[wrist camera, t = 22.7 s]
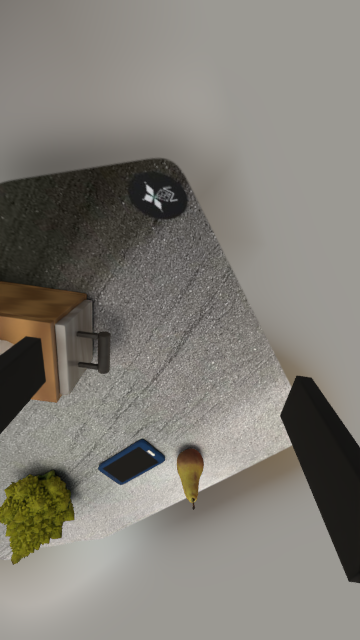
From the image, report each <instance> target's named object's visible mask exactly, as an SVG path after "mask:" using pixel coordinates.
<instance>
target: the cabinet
mask: <svg viewBox="0 0 360 640" xmlns="http://www.w3.org/2000/svg"><path fill="white" fill-rule="evenodd" d="M83 300H87V294H85V293H78V292H71V291H65V290H58V289H51V288H44V287H37V286H30V285H24V284H17V283H10V282H3V281H0V340H4V341H8V342H10V343H12V344H14V345H15V344H16V343H17V342H19V341H20V340H21V339H23V338H24V337H25V336H29V337H36V338H41V343H42V351H43V360H44V368H45V376H46V382H45V383H44V385H43V386H42V387H41V388H40V389H39V390H38V391H37V393H36V394H35V395H34V396H33V397H32V398H31V399H33V400H40V401H48V402H55V403H57V402H58V400H59V399H60V397H61V396H62V394H60V384H59V377H58V368H57V355H56V342H55V330H54V327H55V324H56V323H57V322H58V321H60V320H61V319H62V318H63V317H64V316H66V315H67V314H68V313H69V312H70V311H71V310H73V309H74V308H75V307H76V306H77V305H79V304H80V303H81V302H82V301H83Z"/></svg>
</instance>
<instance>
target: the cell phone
mask: <svg viewBox="0 0 360 640" xmlns="http://www.w3.org/2000/svg"><path fill="white" fill-rule="evenodd" d="M164 461H165V457H164V456H163V455H162V454H161V453H160V452H159V451H157V450H156V449H155V448H154V447H152V446H151V445H150V444H149V443H148V442H146V441H145V440H142V439H141V440H139V441H137V442H136V443H134V444H133V445H131V446H129V447H128V448H126V449H124V450H123V451H121V452H120V453H118V454H116V455H115V456H113V457H111V458H110V459H108V460H107V461H105V462H103V463H102V464H100V465H99V467H98V470H99V471H101V472H102V473H103V474H105V475H106V476H108V477H109V478H110V479H112V480H113V481H115V482H116V483H118V484H120V485H123V484H125V483H127V482H128V481H130V480H132V479H134V478H136V477H137V476H139V475H141V474H143V473H145V472H146V471H148V470H150V469H152V468H154V467H155V466H157V465H159V464H161V463H163V462H164Z"/></svg>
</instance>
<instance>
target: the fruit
mask: <svg viewBox="0 0 360 640" xmlns="http://www.w3.org/2000/svg"><path fill="white" fill-rule="evenodd" d="M203 466H204V462H203V458H202V456H201V454H200V453H199V452H198V451H197V450H196V449H193V448H191V449H186V450H184V451H183V452H181V453H180V454H179V456H178V458H177V470H178V474H179V476H180V478H181V481H182V485H183V489H184V493H185V495H186V497H187V499H188V500H189V501H190V502H191V503H193V510H194V509H195V506H194V502H195V501H196V500H197V496H198V485H199V479H200V476H201V474H202V471H203Z"/></svg>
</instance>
